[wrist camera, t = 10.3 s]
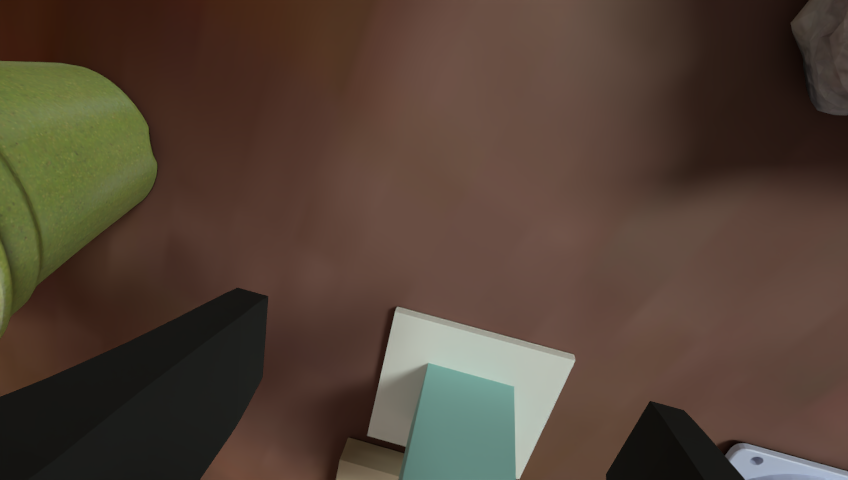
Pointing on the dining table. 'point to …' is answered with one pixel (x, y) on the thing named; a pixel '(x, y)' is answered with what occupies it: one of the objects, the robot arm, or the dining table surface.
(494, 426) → the teal block
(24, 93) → the plant pot
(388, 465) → the board
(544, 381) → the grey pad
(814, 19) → the geode
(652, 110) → the dining table surface
